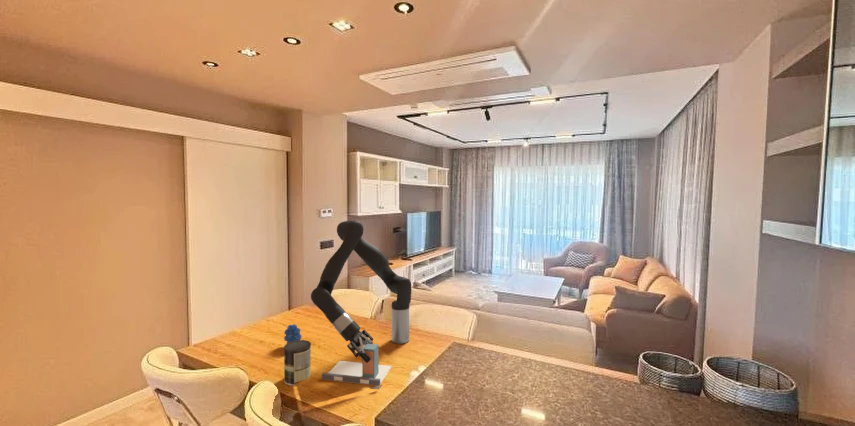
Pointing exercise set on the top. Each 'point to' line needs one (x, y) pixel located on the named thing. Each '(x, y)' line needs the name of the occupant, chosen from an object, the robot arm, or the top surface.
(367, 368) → the carton
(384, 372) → the shelf
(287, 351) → the coffee can
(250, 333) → the top surface
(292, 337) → the grapes
